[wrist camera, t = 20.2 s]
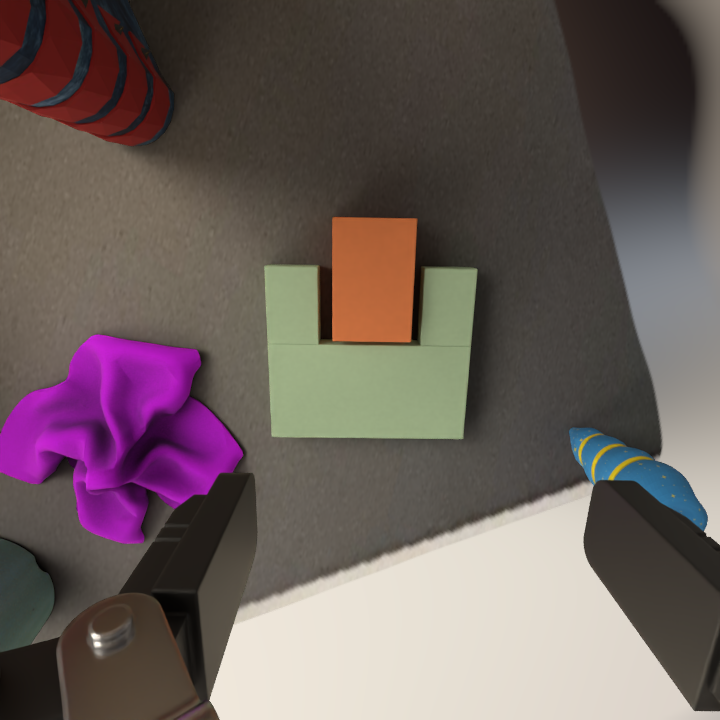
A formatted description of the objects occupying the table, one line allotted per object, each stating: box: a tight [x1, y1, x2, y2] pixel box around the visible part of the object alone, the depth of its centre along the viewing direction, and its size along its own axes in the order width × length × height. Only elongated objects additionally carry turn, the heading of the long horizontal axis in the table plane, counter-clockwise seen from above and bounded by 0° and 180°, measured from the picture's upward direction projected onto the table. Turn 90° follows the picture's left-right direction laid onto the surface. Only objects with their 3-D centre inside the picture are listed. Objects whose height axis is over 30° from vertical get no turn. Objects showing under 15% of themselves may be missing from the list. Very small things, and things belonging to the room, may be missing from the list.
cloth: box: [0, 335, 243, 544], centre depth 36 cm, size 22×19×6 cm
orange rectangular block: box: [332, 217, 417, 342], centre depth 33 cm, size 6×9×3 cm, turn 179°
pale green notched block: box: [264, 264, 478, 439], centre depth 35 cm, size 16×14×2 cm
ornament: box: [569, 427, 708, 531], centre depth 31 cm, size 5×5×15 cm
